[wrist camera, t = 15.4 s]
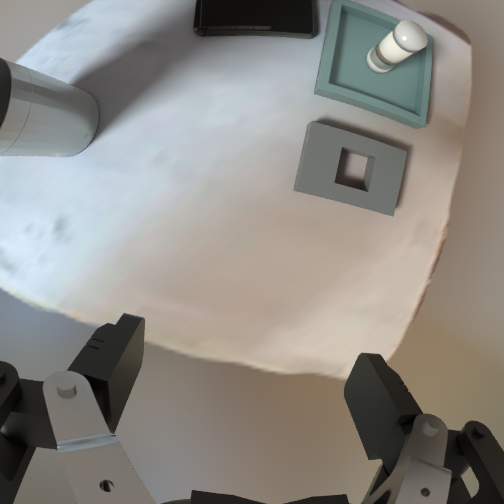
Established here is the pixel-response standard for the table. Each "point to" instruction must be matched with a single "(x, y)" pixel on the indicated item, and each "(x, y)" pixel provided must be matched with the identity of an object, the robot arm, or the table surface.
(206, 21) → the phone
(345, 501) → the robot arm
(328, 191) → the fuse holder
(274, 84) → the table surface
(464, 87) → the table surface
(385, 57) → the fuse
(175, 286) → the table surface
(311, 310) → the table surface
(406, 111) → the parts tray
